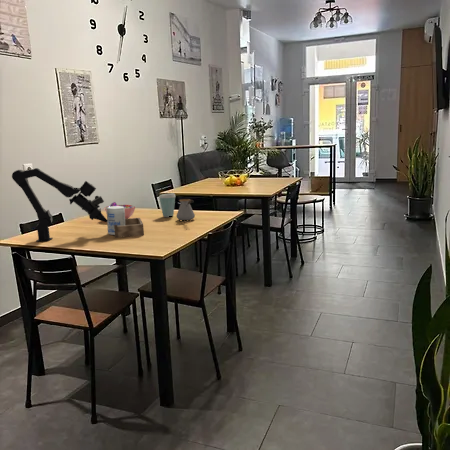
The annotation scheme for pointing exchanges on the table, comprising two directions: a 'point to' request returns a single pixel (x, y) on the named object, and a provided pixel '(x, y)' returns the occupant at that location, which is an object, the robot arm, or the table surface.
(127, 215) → the cell model
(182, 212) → the coffee pot
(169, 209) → the disposable coffee cup
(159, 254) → the table surface
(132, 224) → the walnut crate
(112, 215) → the supplement tub
